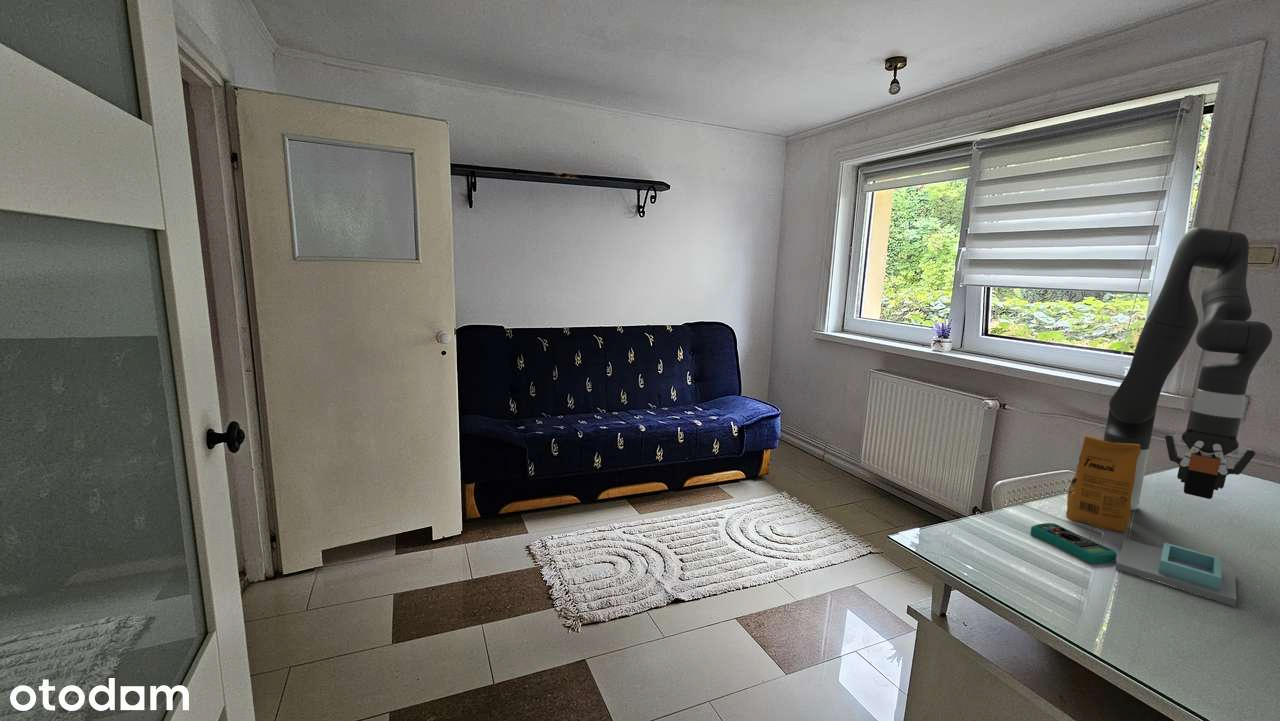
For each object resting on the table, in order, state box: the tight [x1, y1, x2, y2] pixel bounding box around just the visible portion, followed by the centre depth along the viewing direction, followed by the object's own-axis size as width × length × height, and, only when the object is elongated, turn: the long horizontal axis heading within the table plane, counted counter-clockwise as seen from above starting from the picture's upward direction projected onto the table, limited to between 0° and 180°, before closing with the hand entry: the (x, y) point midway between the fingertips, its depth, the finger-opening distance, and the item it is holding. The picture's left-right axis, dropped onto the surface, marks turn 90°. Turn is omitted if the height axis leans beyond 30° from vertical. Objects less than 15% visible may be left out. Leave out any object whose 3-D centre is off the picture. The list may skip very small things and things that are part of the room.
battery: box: [1183, 450, 1221, 500], centre depth 115 cm, size 4×7×10 cm, turn 133°
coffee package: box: [1065, 435, 1141, 533], centre depth 132 cm, size 10×12×22 cm
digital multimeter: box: [1030, 522, 1118, 565], centre depth 120 cm, size 7×15×3 cm, turn 14°
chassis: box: [1115, 538, 1238, 608], centre depth 110 cm, size 17×16×4 cm
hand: (1199, 485), depth 115 cm, fingers closed on battery, 4 cm apart
